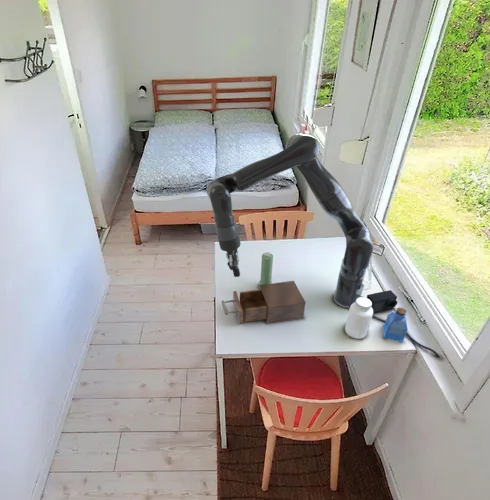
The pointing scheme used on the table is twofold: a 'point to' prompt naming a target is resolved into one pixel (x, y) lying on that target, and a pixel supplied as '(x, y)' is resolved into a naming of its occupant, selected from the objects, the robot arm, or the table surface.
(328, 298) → the table surface
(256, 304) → the drawer
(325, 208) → the robot arm
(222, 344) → the table surface
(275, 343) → the table surface
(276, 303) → the cabinet
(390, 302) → the digital camera
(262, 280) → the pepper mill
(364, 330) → the pill bottle
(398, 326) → the perfume bottle
